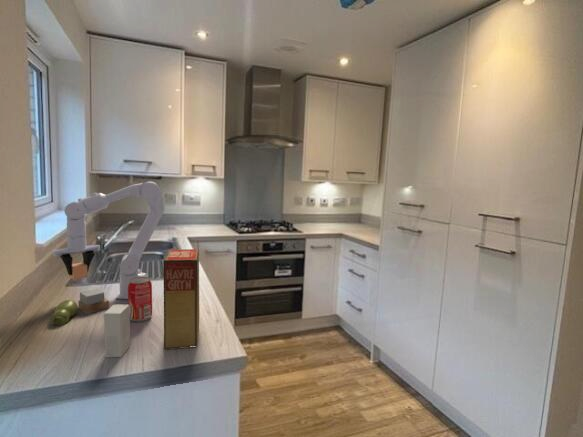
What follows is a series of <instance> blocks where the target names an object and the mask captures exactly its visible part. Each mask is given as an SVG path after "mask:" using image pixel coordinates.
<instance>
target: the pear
mask: <svg viewBox="0 0 583 437" xmlns="http://www.w3.org/2000/svg"><path fill="white" fill-rule="evenodd" d="M78 309H79V306H78V304H77V302H76V301H75V300H72V299H65V300H63V301H61V302H60V303H59V304H58V305H56V307H55V309H54V313H53V314H52V319H51V324H52V325H53V326H54V325H58V326H59V325H60V326H61V325H62V326H63V325H66V324H67V323H68V322H69V321H70V317H72V316H74V315H75V314H76V313H77V311H78Z"/></svg>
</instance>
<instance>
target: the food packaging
mask: <svg viewBox="0 0 583 437" xmlns="http://www.w3.org/2000/svg"><path fill="white" fill-rule="evenodd" d="M162 263H163V349H164V348H165V349H164V350H170V349H169V348H179V349H181V348H180V347H190V346H197V347H198V344H197V343H198V341H199V334H198V333H200V250H199V249H197V248H195V249H193V248H190V249H188V248H187V249H186V248H185V249H184V248H183V249H179V248H177V249H175V248H174V249H169V250H168V251H167V253H166V256H165V257H164V259H163V261H162Z"/></svg>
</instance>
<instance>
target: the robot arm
mask: <svg viewBox="0 0 583 437" xmlns="http://www.w3.org/2000/svg"><path fill="white" fill-rule="evenodd" d="M141 196H142V198H144V200H145V201H146V202H147V205H148V206H149V212H148V213H147V215H146V217H145V220H144V222H143V223H142V225H141V227H140V229H139V231H138V233H137V234H136V237H135V239H134V241H133V243H132V244H131V246H130V248H129V250H128V252H127V253H125V254H124V255H123V256H122V258H121V262H120V263H119V294H117V295H116V297H115V299H117V300H124V299H125V300H128V284H129V280H130V279H132V278H135V277H149V276H148V273H145V272H142V270H141V269H140V267H139V266H140V261H141V258H142V256H143V253H144V251H145V249H146V247H147V245H148V244H149V241H150V239H151V237H152V235H153V233H154V232H155V230H156V227H157V225H158V224H159V221H160V219H161V218H162V216H163V214H164V211H165V204H164V199H163V194H162V190H161V188H160V186H159V185H158V184H157V183H156V182H155V181H151V180H149V181H145V182H141V183H136V184H131V185H128V186H126V187H124V188H121V189H118V190H115V191H113V192H109V193H108V194H104V193H102V192H98V193H97V192H93V193H92V194H91V195H90V196H87V197H84V198H77V201H76V200H75V201H72V202H70V203H68V204H67V205H66V206H65V208H64V214H65V216H66V240H67V241H66V242H67V247H64V248H58V249H54V250H53V249H52V256H53V257H54V258H56V257H59V258H60V259H61V260H62V262H63V263H64V265H65V268H66V272H67V275H68V276H69V275H72V264H73V259H74V258H73V257H72V255H77V254H82V258H83V263H84V264H86V265H87V273H89V269H90V266H91V262H92V261H93V259H94V257H95V252H100V251H101V245H100V244H93V245H87V222H86V215H90V214H93V213H96V212H99V211H102V210H105V209H107V208H108V207H109V205H110V203H113V202H116V201H119V200H122V199H125V198H128V197H137V198H140V197H141Z"/></svg>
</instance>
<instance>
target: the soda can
mask: <svg viewBox="0 0 583 437" xmlns="http://www.w3.org/2000/svg"><path fill="white" fill-rule="evenodd" d="M127 305H129V312H130V321H131V322H134V323H135V322H136V323H139V322H140V323H141V322H145V321H147V320H149V319H150V318H151V317H152V315H153V283H152V281H151V278H150V277H149V276H148V277H135V278H132V279H130V280H129V284H128V299H127Z"/></svg>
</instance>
